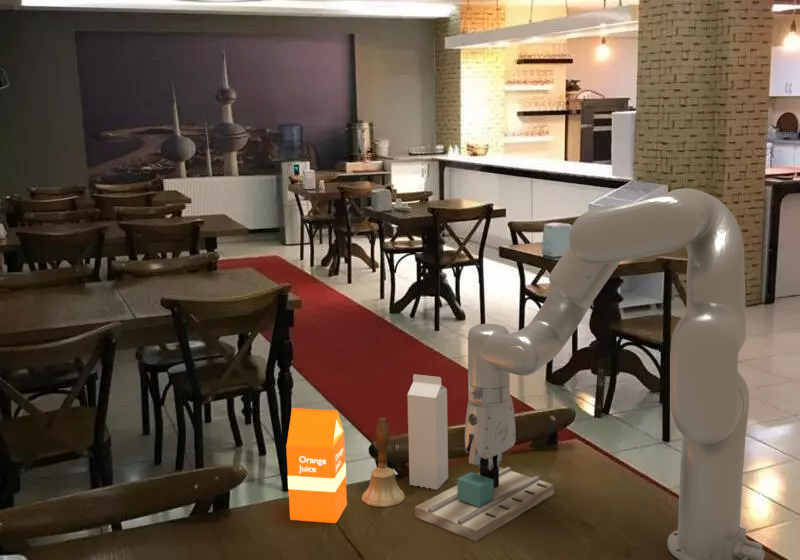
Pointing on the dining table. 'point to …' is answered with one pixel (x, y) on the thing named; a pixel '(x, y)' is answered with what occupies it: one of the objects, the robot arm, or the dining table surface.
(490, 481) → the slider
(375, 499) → the hand bell
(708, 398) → the robot arm
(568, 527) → the dining table surface
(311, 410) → the orange juice
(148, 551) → the dining table surface
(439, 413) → the milk
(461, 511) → the count board
